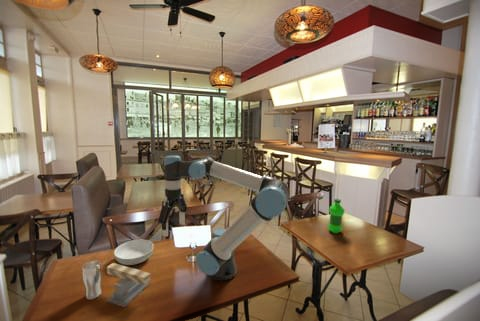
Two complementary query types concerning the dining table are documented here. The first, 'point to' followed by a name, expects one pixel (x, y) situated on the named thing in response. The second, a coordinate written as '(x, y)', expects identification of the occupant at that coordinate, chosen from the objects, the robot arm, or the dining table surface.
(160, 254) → the dining table surface
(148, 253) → the serving bowl
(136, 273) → the beech bar
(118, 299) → the slate ridge
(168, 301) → the dining table surface
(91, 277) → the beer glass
